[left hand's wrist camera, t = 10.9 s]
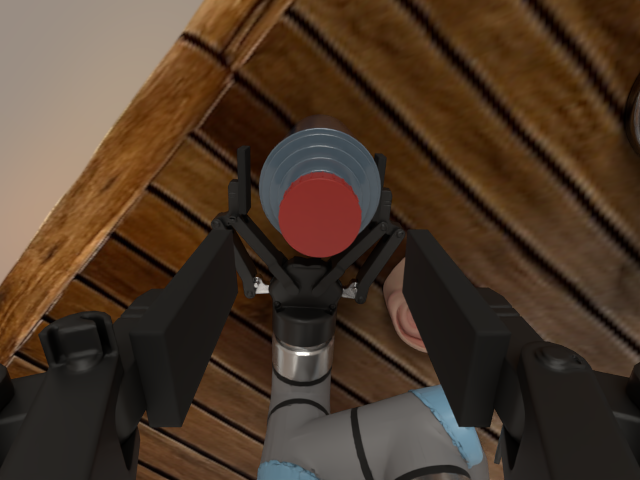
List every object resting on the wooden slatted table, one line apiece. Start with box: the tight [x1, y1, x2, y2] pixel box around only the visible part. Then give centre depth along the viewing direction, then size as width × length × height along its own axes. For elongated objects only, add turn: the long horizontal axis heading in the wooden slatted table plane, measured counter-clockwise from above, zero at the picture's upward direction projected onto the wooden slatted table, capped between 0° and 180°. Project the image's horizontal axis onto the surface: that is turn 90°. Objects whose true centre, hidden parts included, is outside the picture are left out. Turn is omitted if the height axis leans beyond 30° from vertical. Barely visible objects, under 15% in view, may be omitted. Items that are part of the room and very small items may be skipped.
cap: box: [278, 171, 362, 257], centre depth 20 cm, size 4×4×2 cm
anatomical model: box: [383, 258, 427, 353], centre depth 48 cm, size 13×4×12 cm
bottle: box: [259, 115, 381, 234], centre depth 31 cm, size 8×8×25 cm
